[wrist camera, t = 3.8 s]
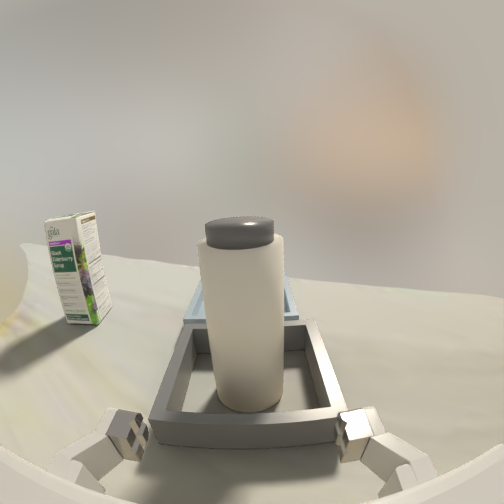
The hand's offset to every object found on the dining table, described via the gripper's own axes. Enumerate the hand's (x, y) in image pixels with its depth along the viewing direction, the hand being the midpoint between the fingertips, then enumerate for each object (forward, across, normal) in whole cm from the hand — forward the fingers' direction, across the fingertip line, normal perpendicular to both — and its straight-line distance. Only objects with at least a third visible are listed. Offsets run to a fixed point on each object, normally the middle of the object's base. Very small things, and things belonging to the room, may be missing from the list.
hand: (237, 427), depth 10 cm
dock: (+11, 0, +8) cm, 13 cm away
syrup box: (+24, +23, +8) cm, 34 cm away
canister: (+11, 0, +8) cm, 13 cm away
